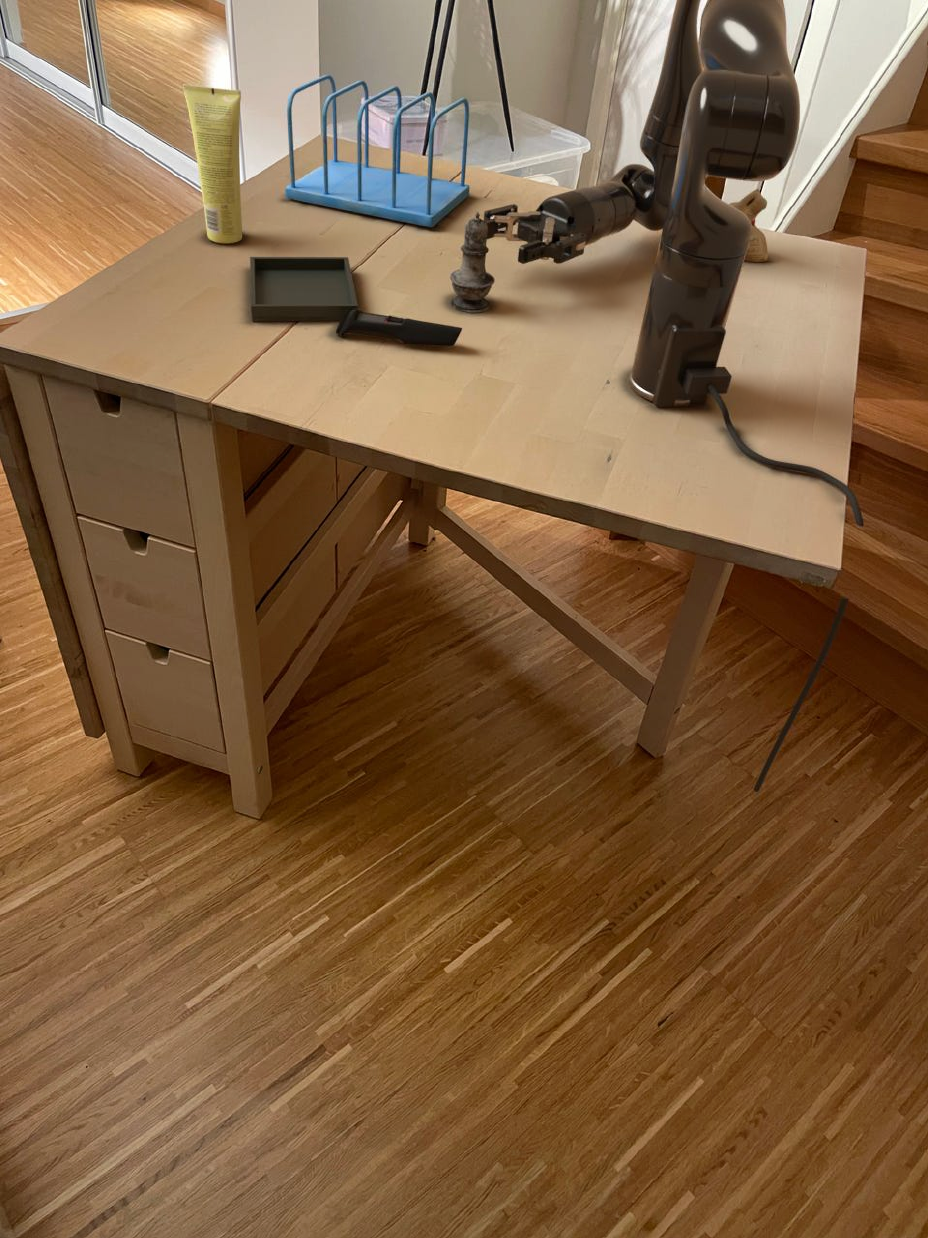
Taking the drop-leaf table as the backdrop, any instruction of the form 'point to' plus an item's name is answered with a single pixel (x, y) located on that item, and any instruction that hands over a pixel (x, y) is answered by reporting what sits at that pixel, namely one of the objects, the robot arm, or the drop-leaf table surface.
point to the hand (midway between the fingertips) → (496, 244)
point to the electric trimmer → (397, 329)
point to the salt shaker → (473, 270)
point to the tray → (301, 288)
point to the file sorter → (377, 169)
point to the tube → (217, 157)
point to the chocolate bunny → (751, 209)
